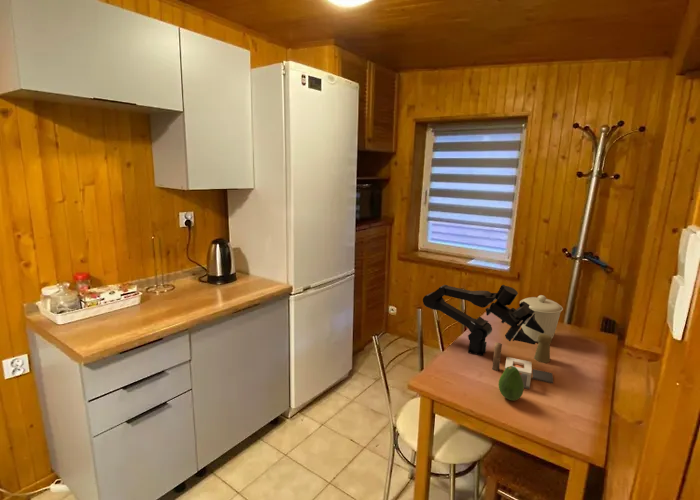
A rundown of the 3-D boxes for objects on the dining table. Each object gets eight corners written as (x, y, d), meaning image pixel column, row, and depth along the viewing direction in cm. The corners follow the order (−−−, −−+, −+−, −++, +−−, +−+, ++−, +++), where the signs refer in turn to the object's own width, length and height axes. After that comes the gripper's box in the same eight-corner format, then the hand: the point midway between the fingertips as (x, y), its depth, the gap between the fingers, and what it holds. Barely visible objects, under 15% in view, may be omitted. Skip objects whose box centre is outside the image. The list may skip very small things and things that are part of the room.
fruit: (509, 407, 132) (513, 376, 129) (492, 395, 139) (495, 364, 136) (526, 402, 135) (530, 371, 132) (509, 390, 142) (512, 360, 139)
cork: (551, 363, 161) (555, 339, 158) (536, 362, 162) (539, 337, 160) (547, 356, 167) (550, 333, 164) (532, 355, 168) (535, 331, 165)
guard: (503, 383, 147) (504, 367, 145) (504, 371, 154) (506, 356, 153) (529, 389, 143) (531, 373, 141) (529, 377, 151) (531, 361, 149)
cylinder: (491, 369, 156) (494, 344, 153) (492, 366, 158) (495, 342, 156) (498, 371, 155) (501, 346, 152) (499, 368, 157) (502, 343, 154)
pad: (532, 379, 149) (532, 377, 149) (532, 370, 156) (532, 369, 156) (552, 383, 147) (553, 382, 146) (552, 374, 153) (552, 373, 153)
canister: (521, 326, 197) (525, 286, 192) (560, 335, 187) (567, 294, 182) (511, 339, 183) (516, 296, 178) (554, 350, 172) (560, 305, 168)
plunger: (512, 373, 147) (513, 368, 147) (513, 369, 150) (513, 364, 149) (522, 375, 146) (522, 370, 145) (522, 371, 149) (522, 366, 148)
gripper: (503, 309, 149) (541, 335, 142) (522, 290, 161) (558, 313, 154) (491, 328, 156) (526, 354, 148) (510, 308, 168) (544, 332, 160)
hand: (539, 337), depth 152 cm, fingers open, 9 cm apart
